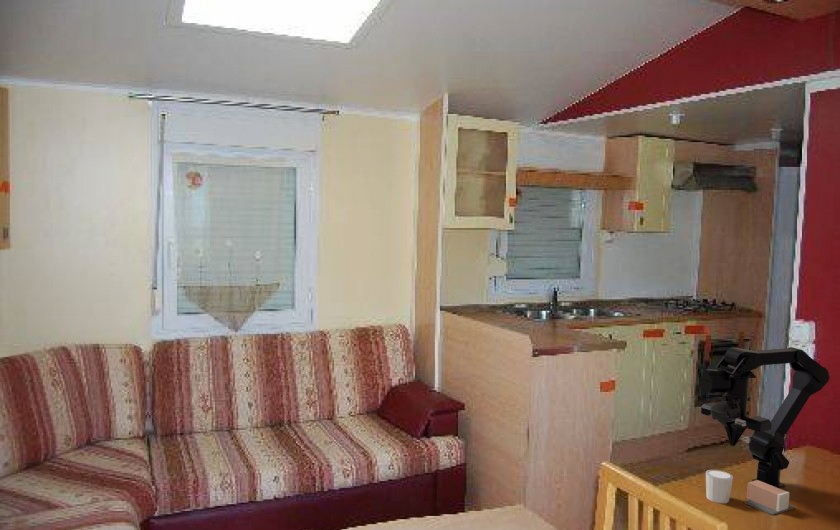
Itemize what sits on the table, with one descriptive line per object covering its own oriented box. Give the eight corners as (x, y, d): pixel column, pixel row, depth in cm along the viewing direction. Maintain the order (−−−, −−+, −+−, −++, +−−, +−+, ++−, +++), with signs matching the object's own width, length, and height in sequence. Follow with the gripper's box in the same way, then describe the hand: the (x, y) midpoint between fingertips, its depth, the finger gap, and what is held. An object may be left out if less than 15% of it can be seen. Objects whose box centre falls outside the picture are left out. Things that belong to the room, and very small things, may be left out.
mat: (765, 496, 178) (766, 495, 178) (794, 508, 172) (794, 506, 172) (743, 503, 174) (743, 501, 174) (772, 515, 167) (772, 513, 167)
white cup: (715, 505, 172) (717, 480, 171) (698, 494, 178) (700, 470, 178) (737, 503, 173) (738, 478, 173) (719, 492, 180) (720, 468, 180)
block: (757, 479, 178) (789, 492, 170) (756, 495, 178) (788, 508, 170) (747, 482, 176) (779, 495, 168) (746, 498, 176) (778, 511, 168)
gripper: (690, 387, 187) (686, 439, 188) (749, 404, 171) (745, 461, 172) (714, 383, 192) (710, 434, 194) (774, 400, 176) (770, 455, 177)
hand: (732, 445), depth 184 cm, fingers closed
